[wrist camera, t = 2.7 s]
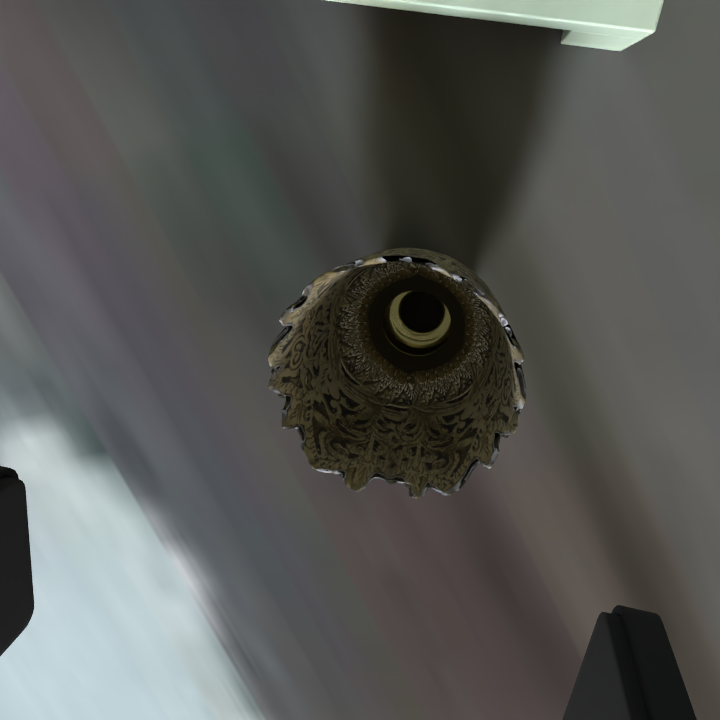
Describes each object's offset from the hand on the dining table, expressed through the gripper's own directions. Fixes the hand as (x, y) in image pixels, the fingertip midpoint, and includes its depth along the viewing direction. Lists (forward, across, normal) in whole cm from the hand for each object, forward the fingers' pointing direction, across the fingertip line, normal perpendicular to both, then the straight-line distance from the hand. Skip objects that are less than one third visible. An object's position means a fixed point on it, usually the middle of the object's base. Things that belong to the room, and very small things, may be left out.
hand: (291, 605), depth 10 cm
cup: (+17, -1, 0) cm, 17 cm away
